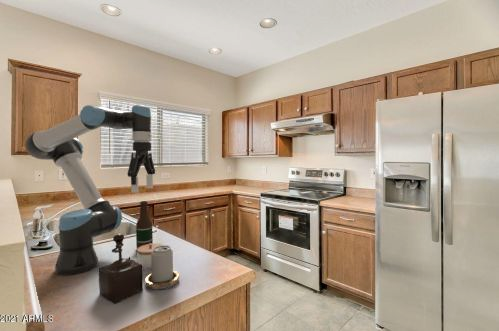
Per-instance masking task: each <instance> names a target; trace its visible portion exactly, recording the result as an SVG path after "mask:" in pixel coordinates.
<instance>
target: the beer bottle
mask: <svg viewBox="0 0 499 331" xmlns="http://www.w3.org/2000/svg"><path fill="white" fill-rule="evenodd" d="M139 204H140V206H139V207H140V209H139V210H140V212H139V218H138V219H137V221H136V226H135V229H136V230H135V233H136V234H135V235H136V236H135V239H136V240H135V241H136V242H135V243H136V250H137V249H138V248H139V247H140V246H143V245H147V244H154V243H153V236H154V235H153V222H152V220H151V218H150V217H149V209H148V204H149V202H148V201H147V200H142V201H140V202H139Z"/></svg>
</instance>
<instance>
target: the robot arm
mask: <svg viewBox="0 0 499 331" xmlns="http://www.w3.org/2000/svg"><path fill="white" fill-rule="evenodd" d="M79 112H80V113H79V114H77V115H76V116H73V117H72V118H69V119H67V120H65V121H63V122H60V123H58V124H56V125H54V126H52V127H51V128H47V129H45V130H38V131H35V132H33V133H32V134H30V135H29V136H27V138H26V139H25V142H24V148H25V150H26V152H27V154H28V155H30V156H31V157H33V158H34V159H38V160H52V161H53V162H54V165H55V166H56V167H57V168H61V169H62V171H63V173H64V174H65V176H66V178H67V180H68V181H69V183H70V185H71V188H73V191H74V192H75V194H76V196H77V198H78V199H79V202H80V203H81V205H82V206H83V208H82V209H75V210H71V211H69V212H65V213H64V214H62V215H61V216H60V218H59V220H58V221H59V222H58V223H59V224H58V231H59V254H58V257H57V260H56V264H55V265H54V273H55V274H56V275H60V276H61V275H62V276H69V275H70V276H71V275H77V274H81V273H85V272H87V271H91V270H92V269H94V268H96V267H97V266H98V265H99V257H98V256H97V253H96V251H95V248H94V238H96V237H99V236H102V235H104V234H105V235H106V234H108V233H111V232H112V231H115V230H117V229H119V228H120V226H121V223H122V220H123V214H122V211H121V209H120V207H118V206H115V205H111V203H110V201H109V200H108V199H104V198H103V196H102V195H101V192H100V190H99V189H98V188H97V186H96V184H95V183H94V181H93V179H92V177H91V176H90V173H89V171H88V170H87V168H86V166H85V165H84V163H83V161H82V158H83V153H84V150H83V149H84V147H83V144H82V142H81V141H80V140H79V139H78V137H80V136H82V135H85V134H87V133H89V132H91V131H93V130H96V129H98V128H102V127H105V128H111V129H113V130H127V129H128V130H129V129H131V130H132V137H131V138H132V151H134V152H131V158H130V162H129V166H128V169H127V177H128V178H129V177H130V188H131V189H130V190H131V192H130V193H131V194H132V193H133V194H134V193H137V194H138V193H139V176H138V174H139V172H140V169H141V166H142V165H143V166H144V169H145V172H146V175H145V176H146V178H145V179H146V189H154V178H153V177H154V175H156V169H155V165H154V161H153V155H152V152H150V151H152V143H151V141H152V136H153V135H152V130H151V129H152V128H151V125H152V123H151V122H152V115H151V114H152V113H151V109H150V107H149V106H146V105H139V104H138V105H137V104H136V105H133V106H131V110H130V111H120V110H117V109H116V110H115V109H110V108H106V107H101V106H98V105H89V104H87V105H85V106H83V107H82V109H81V110H80V111H79Z"/></svg>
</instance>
